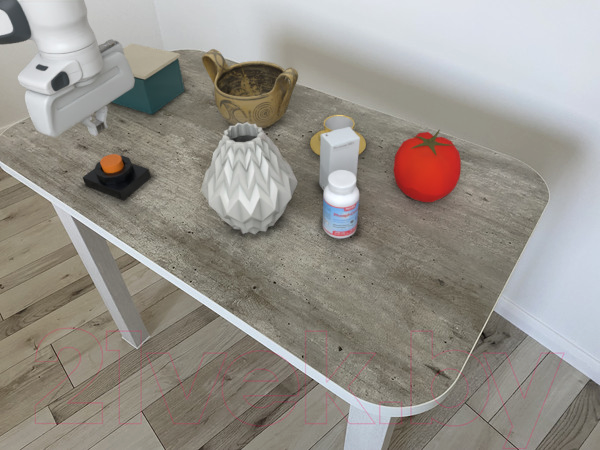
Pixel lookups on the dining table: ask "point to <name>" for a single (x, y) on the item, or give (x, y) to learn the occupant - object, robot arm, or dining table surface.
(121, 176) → the push button housing
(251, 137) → the vase
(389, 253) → the dining table surface
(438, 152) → the tomato
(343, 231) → the pill bottle
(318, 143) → the cup
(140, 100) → the teal hollow open box
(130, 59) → the beige flat rectangular panel
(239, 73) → the ceramic bowl
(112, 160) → the flush button
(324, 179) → the cosmetic box
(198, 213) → the dining table surface
